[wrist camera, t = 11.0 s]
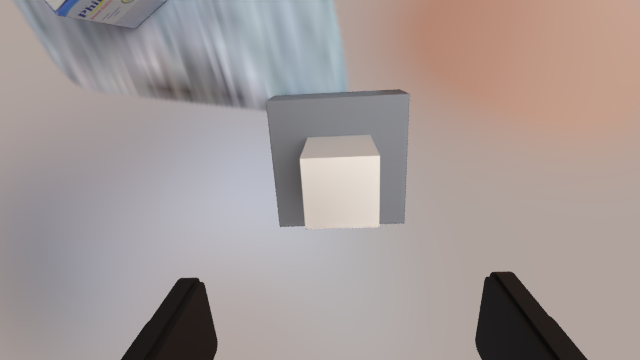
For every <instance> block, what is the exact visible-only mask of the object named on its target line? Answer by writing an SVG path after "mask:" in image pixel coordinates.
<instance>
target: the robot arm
mask: <svg viewBox="0 0 640 360" xmlns="http://www.w3.org/2000/svg"><path fill="white" fill-rule="evenodd" d="M475 341H476V347H477V350H478V352H479V355H480V357H481V359H482V360H587V358H586V357H585V356H584V355H583V354H582V353H581V351H580V350H579V349H578V348H577V347H576V345H575V344H574V343H573V342H572V341H571V339H570V338H569V337H568V336H567V335H566V333H565V332H564V331H563V330H562V329H561V327H560V326H559V325H558V324H557V322H556V321H555V320H554V319H553V318H552V317H550V316H549V315H548V314H547V313H546V312H545V311H544V309H543V308H542V307H541V306H540V304H539V303H538V302H537V301H536V300H535V298H534V297H533V296H532V295H531V294H530V292H529V291H528V290H527V289H526V288H525V286H524V285H523V284H522V283H521V281H520V280H519V279H518V278H517V277H516V275H515V274H514V273H512V272H492V273H491V274H490V277H486V278H485V281H484V288H483V294H482V300H481V306H480V313H479V319H478V326H477V332H476V338H475ZM216 351H217V337H216V332H215V329H214V324H213V319H212V315H211V311H210V306H209V302H208V297H207V294H206V289H205V285H204V283H203V282H200V281H199V279H198V278H180V279H179V280H178V281H177V282H176V284H175V285H174V286H173V288H172V289H171V291H170V292H169V294H168V295H167V297H166V298H165V299H164V301H163V302H162V304H161V305H160V307H159V308H158V310H157V311H156V312H155V314H154V315H153V317H152V318H151V320H150V321H149V322H148V323H147V324H146V325H145V326H144V328H143V329H142V330H141V332H140V333H139V335H138V336H137V337H136V339H135V340H134V342H133V343H132V345H131V346H130V347H129V349H128V350H127V352H126V353H125V355H124V356H123V357H122V359H121V360H213V359H214V356H215V354H216Z"/></svg>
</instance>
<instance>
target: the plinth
mask: <svg viewBox="0 0 640 360" xmlns="http://www.w3.org/2000/svg"><path fill="white" fill-rule="evenodd" d="M409 97H410V95H409V93H407V92H404V91H402V90H381V91H361V92H341V93H322V94H303V95H284V96H274V97H272V98H271V99H269V100H267V101H266V106H267V115H268V123H269V133H270V142H271V151H272V160H273V169H274V177H275V187H276V196H277V205H278V214H279V222H280V227H283V226H284V227H285V226H305V219H304V206H303V194H302V181H301V169H300V157H301V154H302V151H303V148H304V146H305V143H306V140H307V138H308V137H329V136H351V135H371V137H372V140H373V142H374V144H375V146H376V148H377V150H378V152H379V154H380V211H379V224H397V223H404V219H405V194H406V169H407V145H408V121H409Z"/></svg>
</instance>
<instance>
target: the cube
mask: <svg viewBox="0 0 640 360" xmlns="http://www.w3.org/2000/svg"><path fill="white" fill-rule="evenodd" d="M300 169H301V181H302V194H303V206H304V219H305V229H330V228H367V227H368V228H369V227H379V211H380V154H379V152H378V150H377V148H376V146H375V144H374V142H373V140H372V137H371V135H351V136H329V137H308V138H307V140H306V143H305V146H304V148H303V151H302V154H301V157H300Z"/></svg>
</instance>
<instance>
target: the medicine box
mask: <svg viewBox="0 0 640 360" xmlns="http://www.w3.org/2000/svg"><path fill="white" fill-rule="evenodd" d="M44 1H45V2H46V3H47V4H48V5H49V6H50V8H51V9H52V10H53V11H54V12H55V13H56V14H57V15H59V16H64V17H70V18H76V19H82V20H88V21H94V22H100V23H106V24H112V25H118V26H124V27H129V28H136V27H138V26H139V25H140V24H141V23H142V22H143V21H144V20H145V19H146V18H148V17H149V16H150V15H151V14H152V13H153V12H154V11H155V10H156V9H157V8H158V7H159V6H160V5H162V4H163V3H164V2H165V1H166V0H44Z"/></svg>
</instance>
